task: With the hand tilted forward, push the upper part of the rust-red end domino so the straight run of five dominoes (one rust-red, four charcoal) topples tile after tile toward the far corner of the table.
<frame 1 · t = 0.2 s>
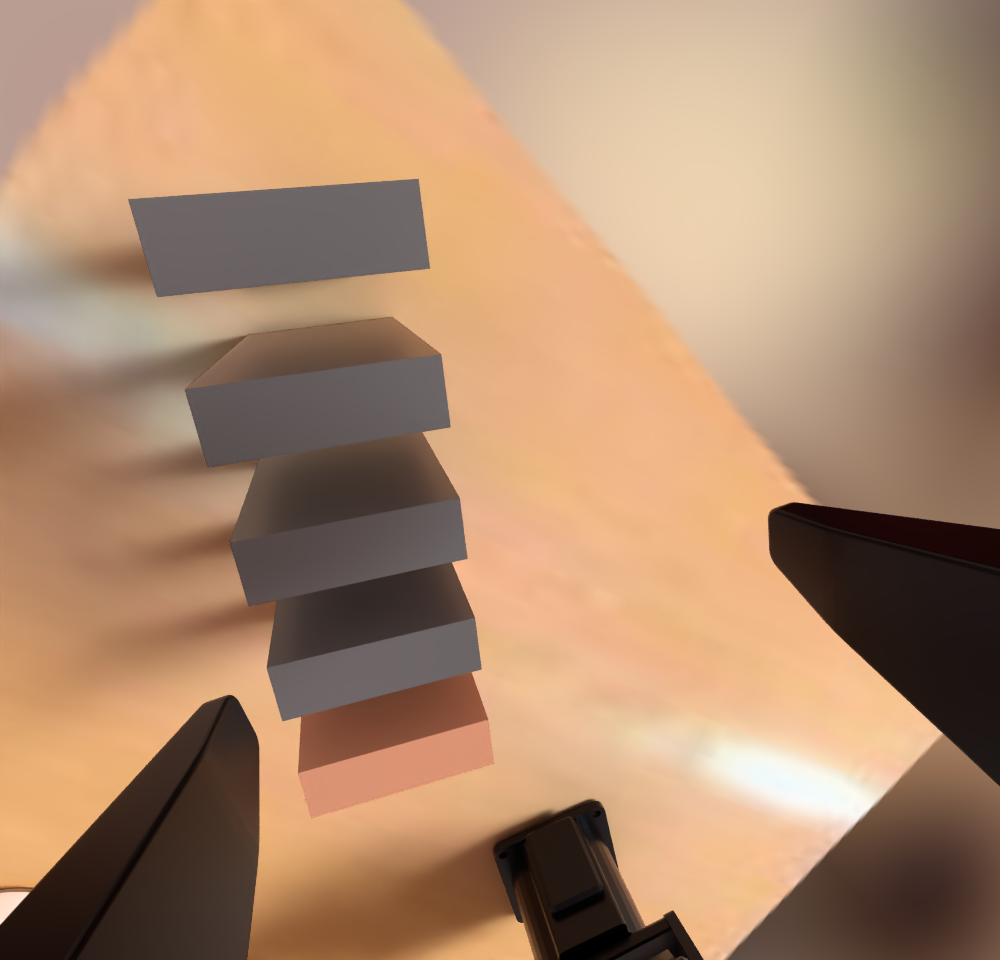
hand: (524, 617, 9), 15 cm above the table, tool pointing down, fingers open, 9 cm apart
domino 2: (360, 513, 23), on the table
domino 5: (307, 250, 20), on the table
domino 1: (374, 584, 25), on the table
can: (12, 932, 26), on the table
domino 3: (344, 435, 22), on the table
domino 4: (327, 348, 21), on the table
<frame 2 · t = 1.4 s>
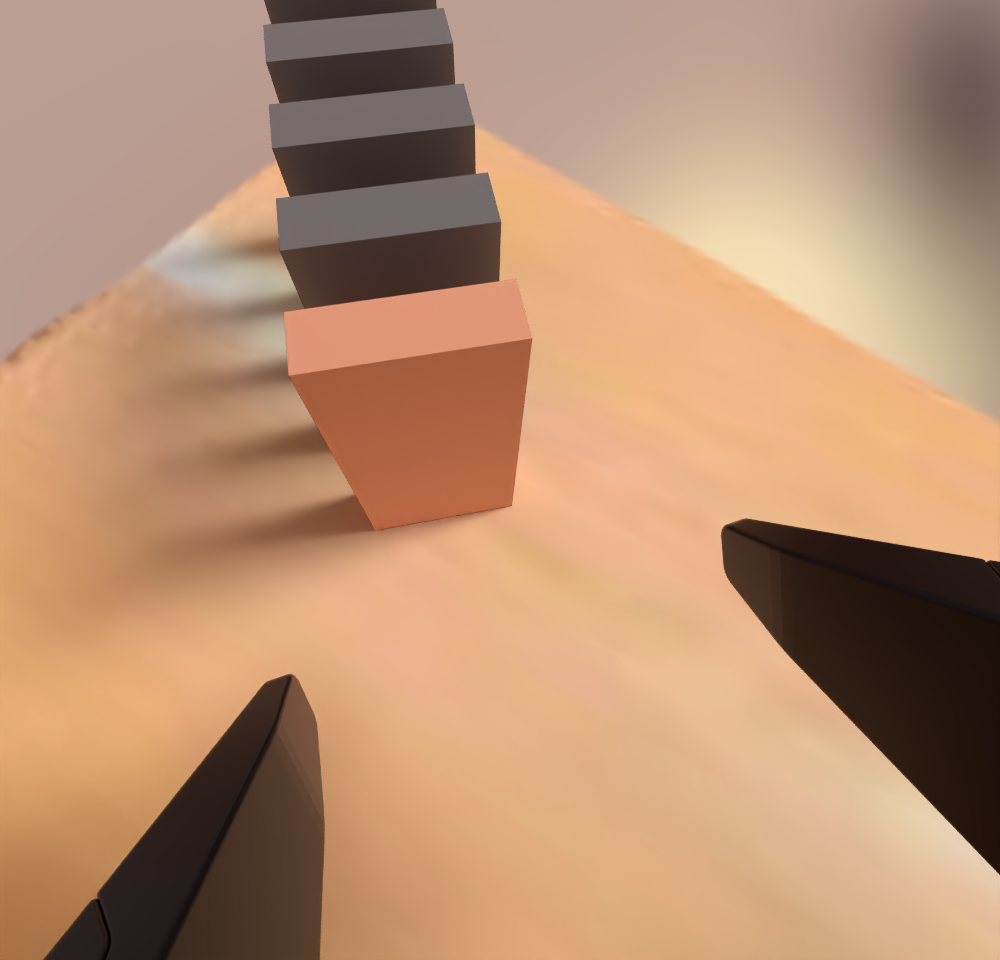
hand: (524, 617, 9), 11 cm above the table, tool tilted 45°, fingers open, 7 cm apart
domino 2: (427, 419, 23), on the table
domino 5: (394, 230, 26), on the table
domino 1: (440, 497, 21), on the table
domino 3: (415, 350, 24), on the table
domino 4: (404, 287, 25), on the table
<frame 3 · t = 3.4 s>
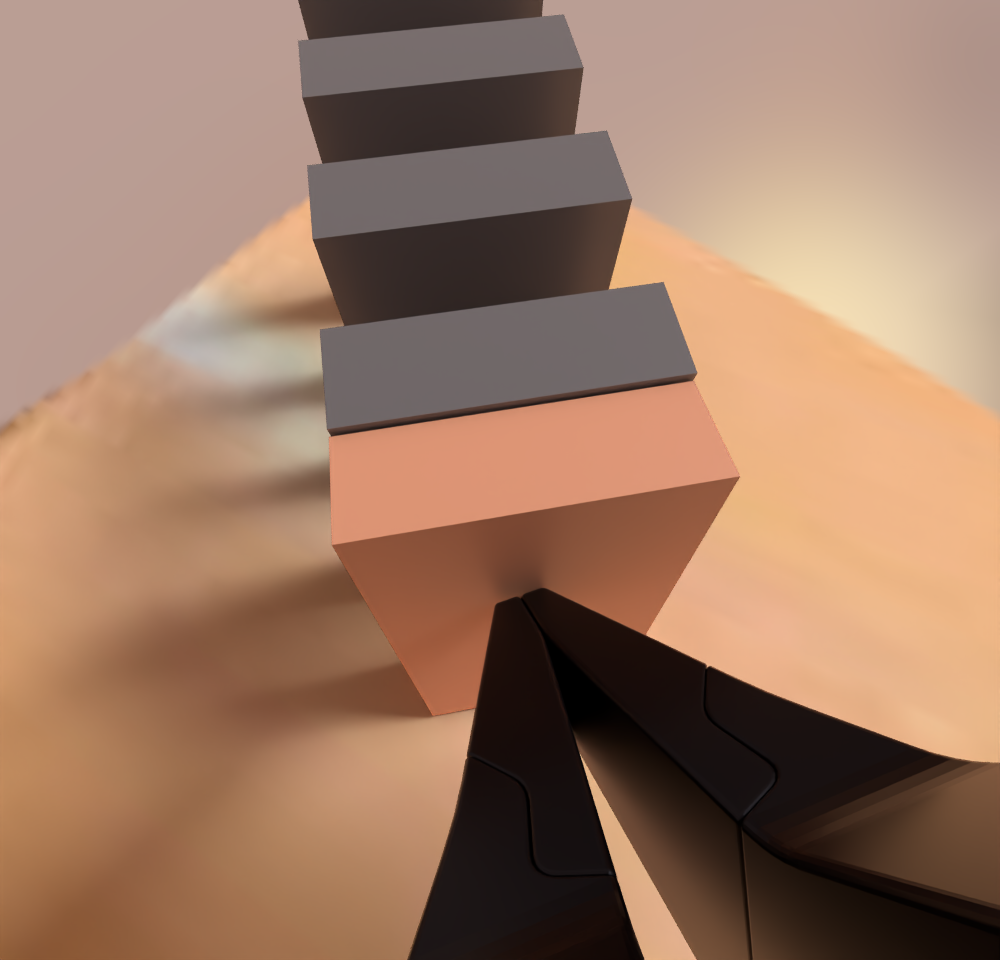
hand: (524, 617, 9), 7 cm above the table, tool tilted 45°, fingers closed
domino 2: (499, 553, 17), on the table
domino 5: (450, 292, 21), on the table
domino 1: (520, 667, 16), on the table, tilted 10°
domino 3: (480, 454, 18), on the table
domino 4: (464, 368, 20), on the table
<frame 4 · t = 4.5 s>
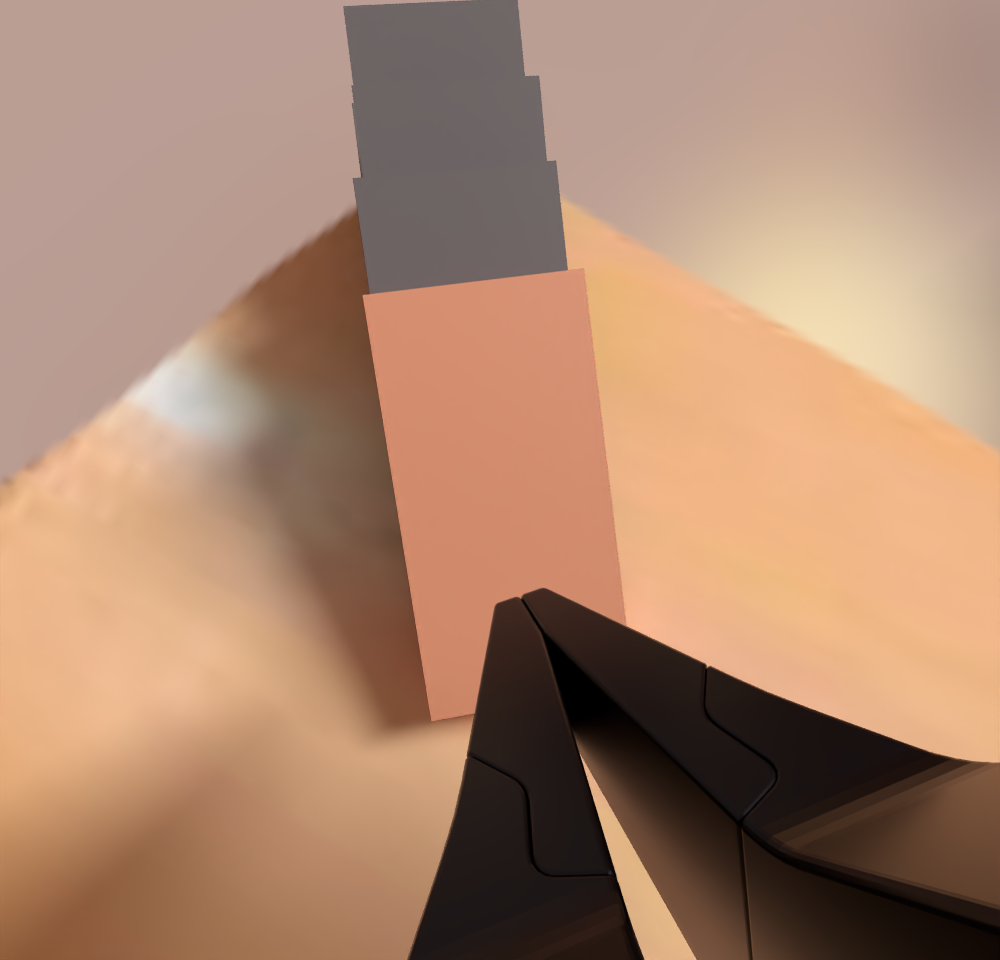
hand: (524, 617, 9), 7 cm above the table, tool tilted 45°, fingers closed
domino 2: (502, 557, 16), point 1 cm above the table, tilted 61°, touching domino 1, domino 3
domino 1: (528, 687, 15), point 1 cm above the table, tilted 61°, touching domino 2
domino 3: (484, 452, 17), point 1 cm above the table, tilted 61°, touching domino 2, domino 4
domino 4: (469, 357, 19), point 1 cm above the table, tilted 61°, touching domino 3, domino 5
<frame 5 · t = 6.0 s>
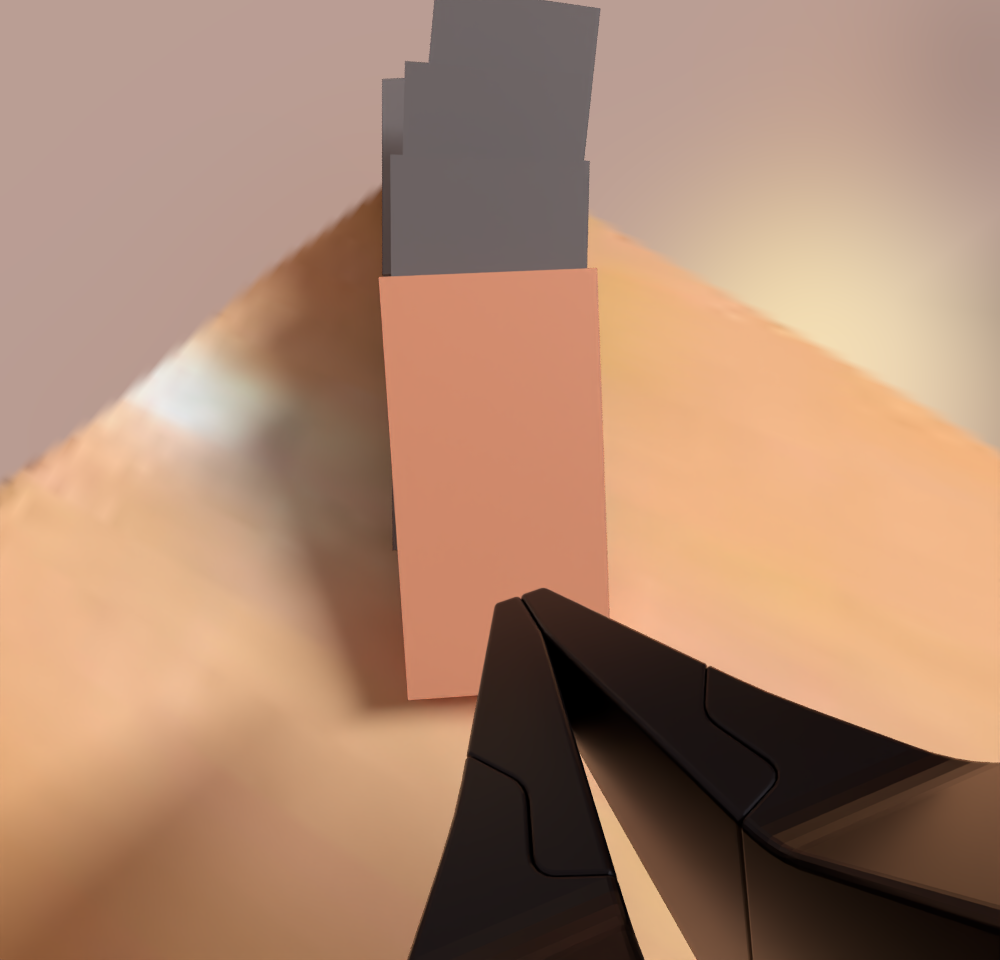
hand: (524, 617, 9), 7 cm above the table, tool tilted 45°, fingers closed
domino 2: (486, 544, 16), point 1 cm above the table, tilted 62°, touching domino 1, domino 3
domino 5: (458, 286, 20), on the table, tilted 90°, touching domino 4
domino 1: (508, 678, 15), point 1 cm above the table, tilted 62°, touching domino 2
domino 3: (482, 433, 18), point 1 cm above the table, tilted 62°, touching domino 2, domino 4
domino 4: (484, 335, 19), point 1 cm above the table, tilted 64°, touching domino 3, domino 5
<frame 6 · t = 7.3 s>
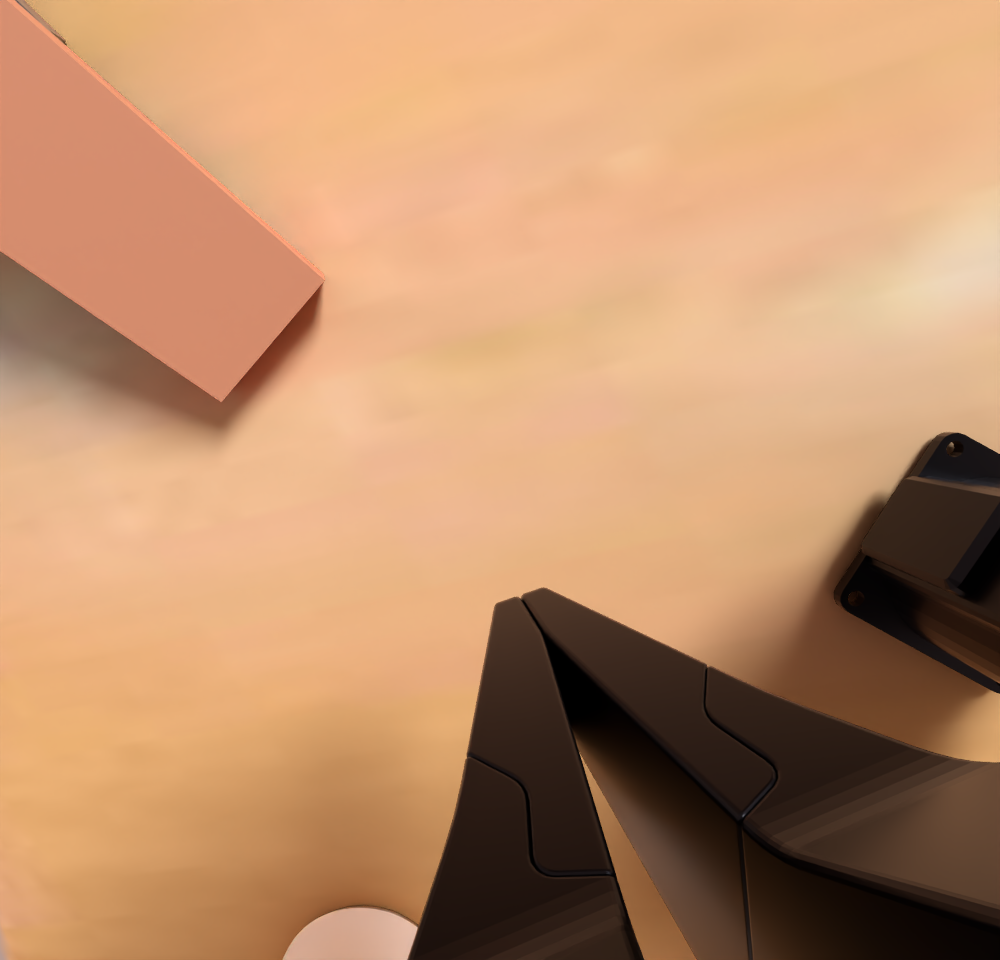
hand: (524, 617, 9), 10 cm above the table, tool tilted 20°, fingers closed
domino 1: (273, 337, 19), point 1 cm above the table, tilted 63°, touching domino 2
domino 4: (3, 96, 18), point 1 cm above the table, tilted 63°, touching domino 3
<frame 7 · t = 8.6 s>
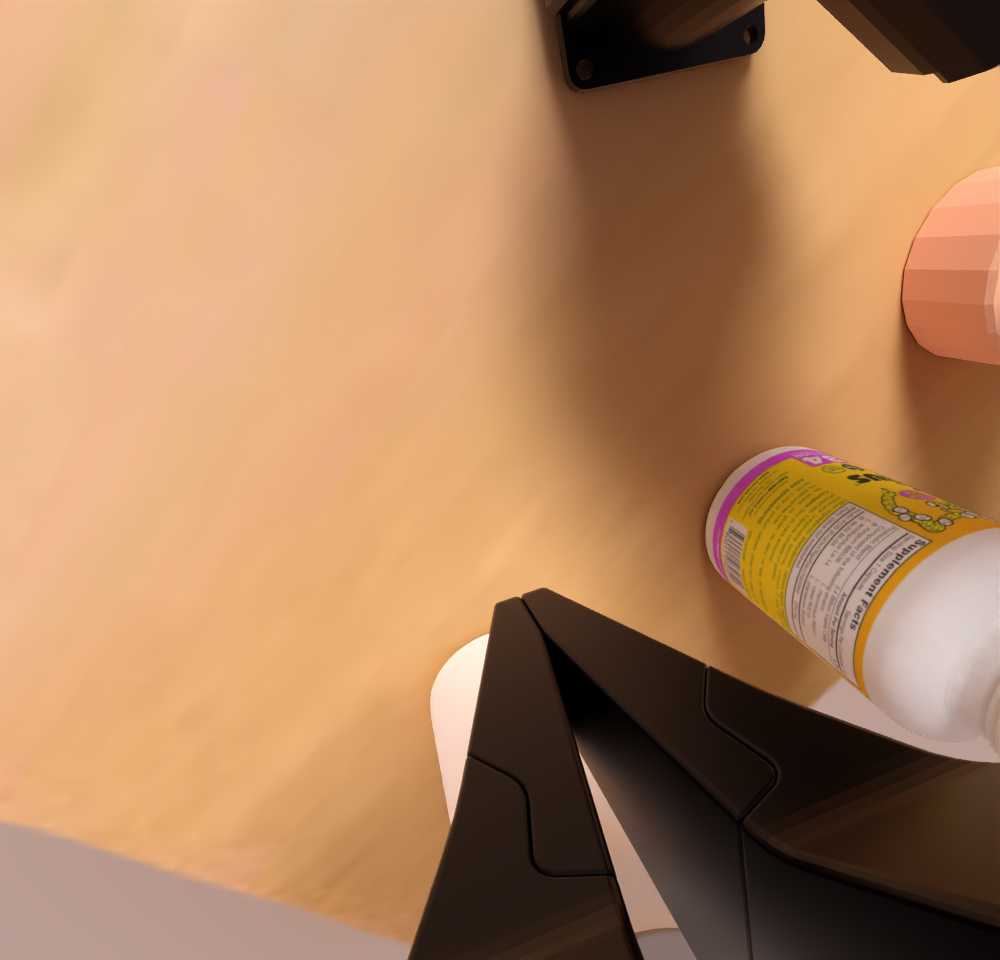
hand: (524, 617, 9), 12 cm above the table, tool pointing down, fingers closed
salt shaker: (972, 266, 24), on the table
can: (502, 683, 25), on the table
supplement bottle: (763, 512, 25), on the table
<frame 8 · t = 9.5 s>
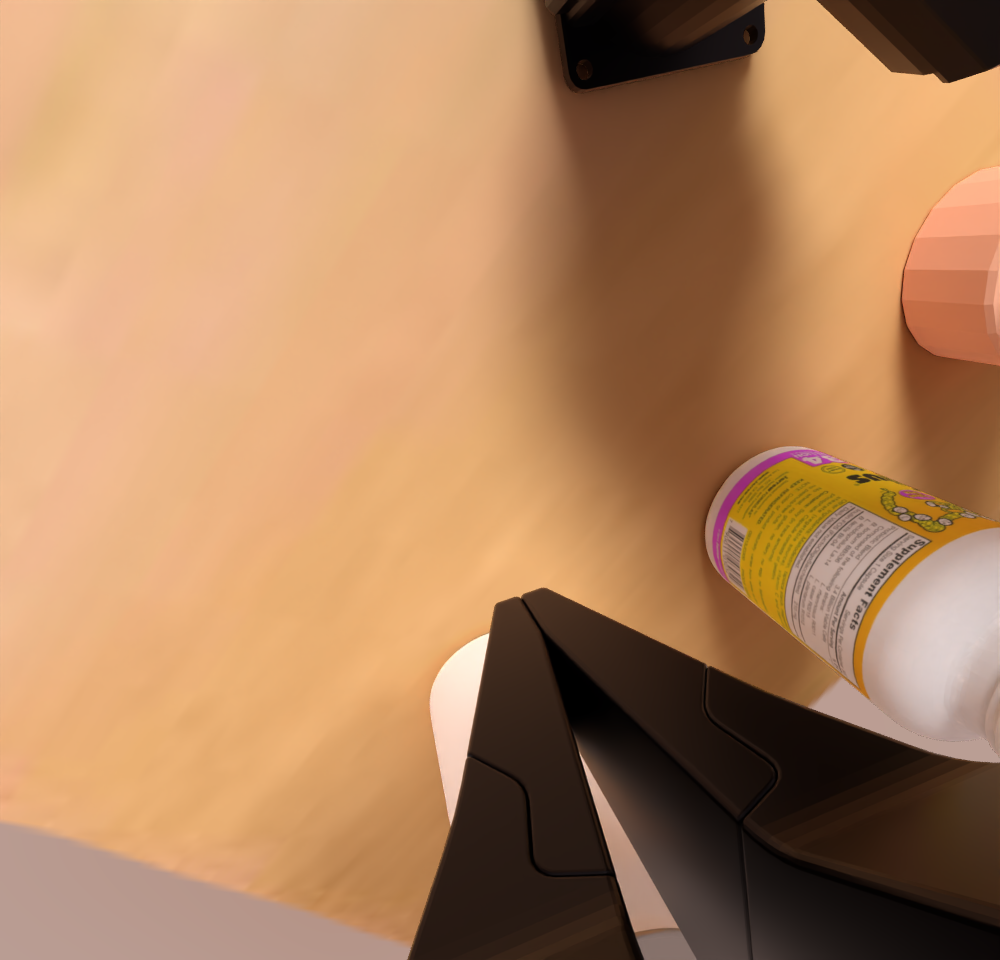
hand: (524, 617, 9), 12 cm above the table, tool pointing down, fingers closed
salt shaker: (972, 266, 24), on the table
can: (501, 683, 25), on the table
supplement bottle: (763, 512, 25), on the table
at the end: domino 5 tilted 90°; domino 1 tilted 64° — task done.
